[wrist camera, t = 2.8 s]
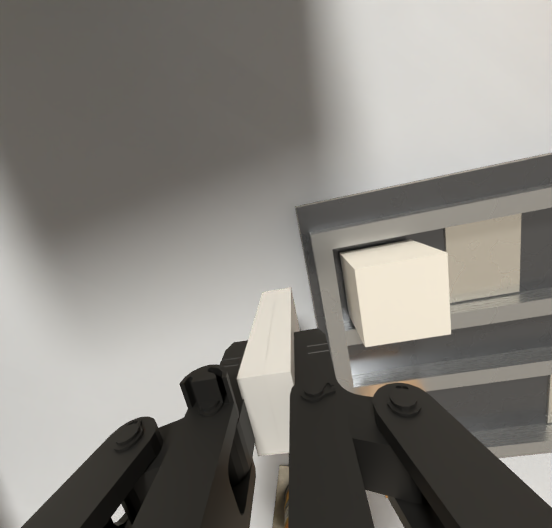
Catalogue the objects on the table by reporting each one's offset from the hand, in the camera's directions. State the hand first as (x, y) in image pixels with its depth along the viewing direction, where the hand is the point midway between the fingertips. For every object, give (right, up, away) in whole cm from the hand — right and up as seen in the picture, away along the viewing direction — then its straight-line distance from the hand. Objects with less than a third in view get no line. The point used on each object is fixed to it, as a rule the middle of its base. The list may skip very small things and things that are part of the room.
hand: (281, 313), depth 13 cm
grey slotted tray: (+13, -1, +5) cm, 14 cm away
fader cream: (+6, +2, +2) cm, 6 cm away
